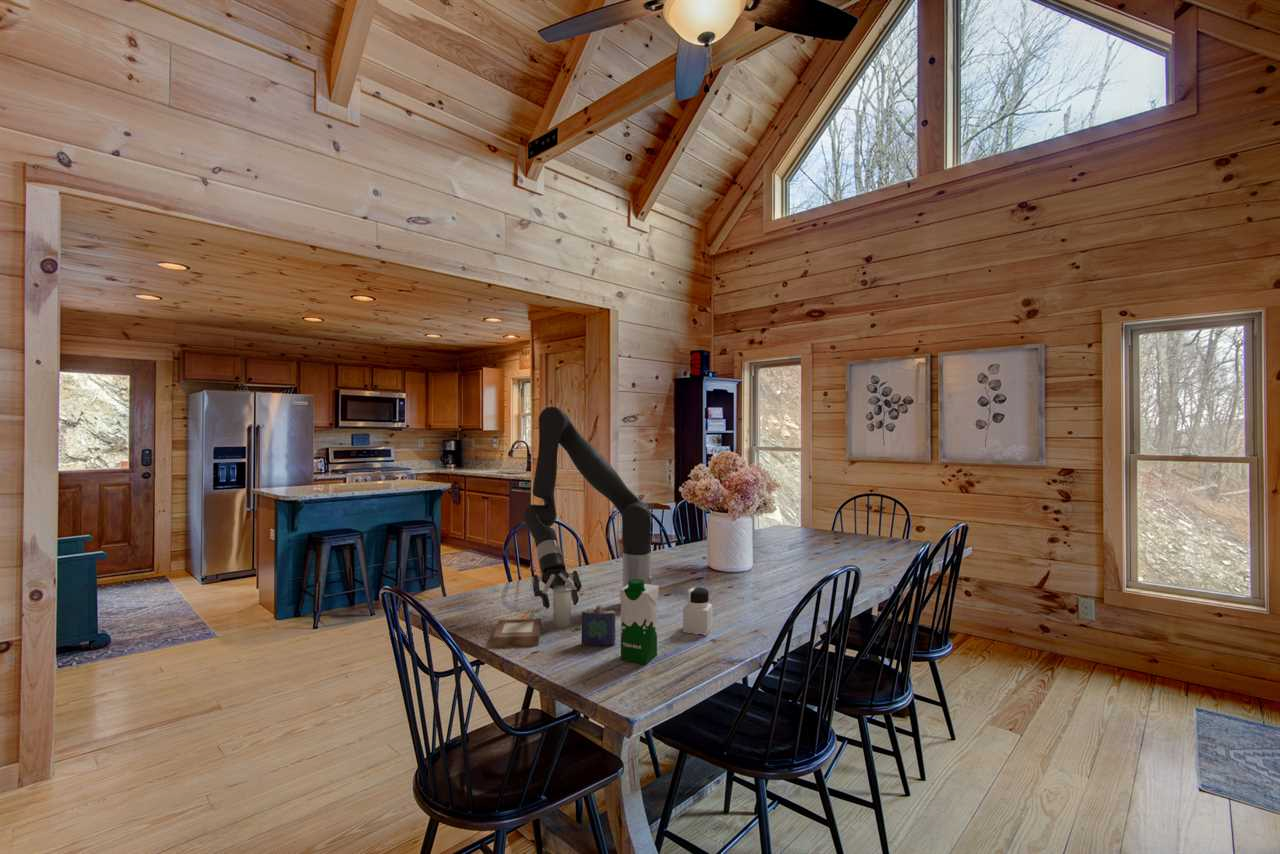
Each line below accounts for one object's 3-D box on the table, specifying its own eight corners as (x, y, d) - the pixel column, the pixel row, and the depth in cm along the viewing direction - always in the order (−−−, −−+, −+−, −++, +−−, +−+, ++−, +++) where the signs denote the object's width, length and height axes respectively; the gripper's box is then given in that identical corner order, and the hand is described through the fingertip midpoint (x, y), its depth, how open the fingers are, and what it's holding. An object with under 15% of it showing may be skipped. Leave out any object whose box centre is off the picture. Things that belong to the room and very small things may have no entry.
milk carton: (615, 661, 148) (616, 581, 148) (631, 648, 156) (631, 573, 156) (647, 667, 145) (648, 585, 144) (662, 654, 153) (662, 577, 153)
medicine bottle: (712, 627, 173) (712, 586, 173) (707, 636, 166) (707, 593, 166) (688, 625, 175) (689, 584, 175) (682, 633, 168) (682, 591, 168)
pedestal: (541, 627, 172) (541, 618, 172) (538, 645, 158) (538, 635, 158) (499, 628, 171) (499, 619, 171) (492, 646, 157) (492, 637, 157)
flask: (615, 643, 161) (615, 603, 160) (614, 647, 158) (615, 607, 157) (582, 642, 161) (582, 603, 161) (580, 646, 158) (580, 606, 158)
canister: (571, 622, 177) (571, 585, 177) (571, 628, 172) (571, 590, 172) (553, 622, 176) (553, 585, 176) (552, 628, 171) (552, 591, 171)
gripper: (530, 553, 178) (541, 602, 168) (575, 549, 185) (588, 596, 174) (525, 567, 183) (535, 615, 173) (569, 562, 189) (581, 608, 179)
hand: (562, 605), depth 174 cm, fingers open, 8 cm apart
